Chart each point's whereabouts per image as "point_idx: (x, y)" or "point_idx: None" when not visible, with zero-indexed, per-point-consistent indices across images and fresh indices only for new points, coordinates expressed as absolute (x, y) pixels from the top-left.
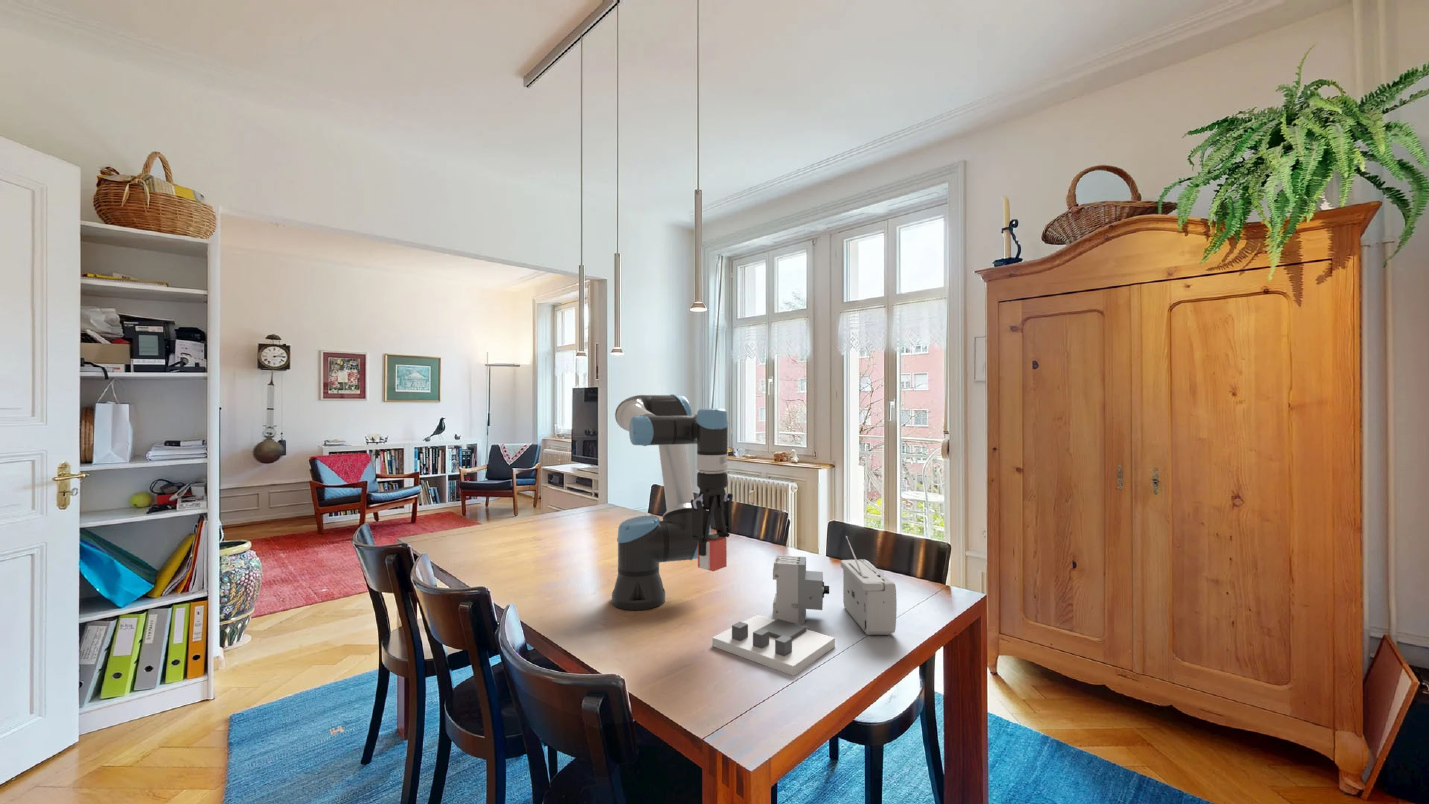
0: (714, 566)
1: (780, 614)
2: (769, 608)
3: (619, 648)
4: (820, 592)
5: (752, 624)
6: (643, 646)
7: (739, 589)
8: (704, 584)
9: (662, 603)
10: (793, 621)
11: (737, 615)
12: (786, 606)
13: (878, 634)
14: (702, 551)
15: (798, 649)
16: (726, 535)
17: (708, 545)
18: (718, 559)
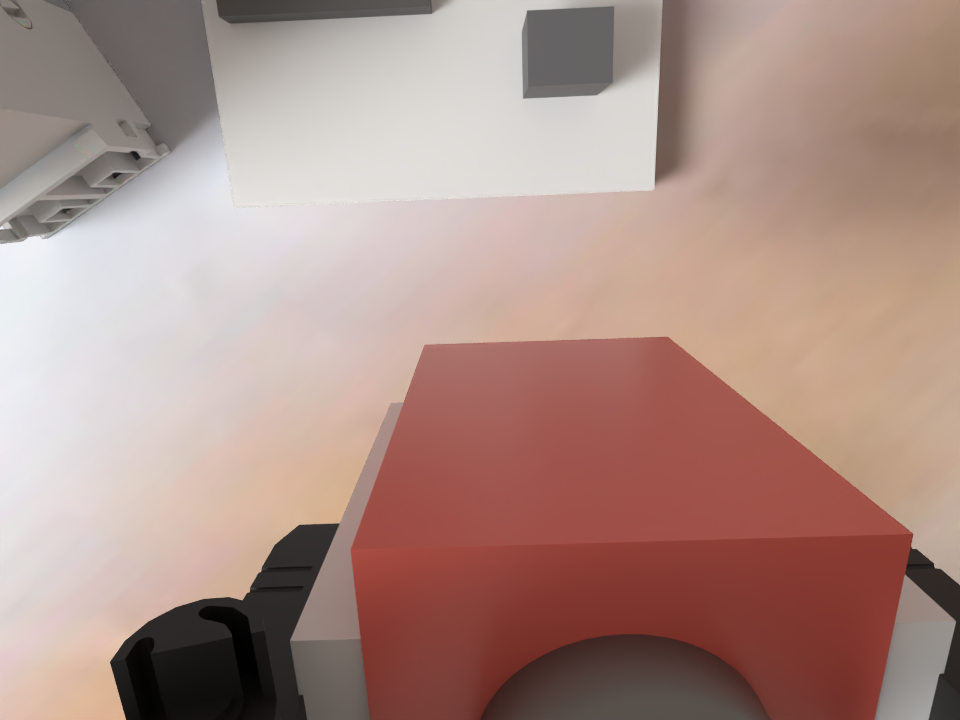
0: (665, 351)
1: (117, 106)
2: (57, 281)
3: (903, 485)
4: None
5: (365, 133)
6: (832, 428)
7: (6, 562)
8: (109, 713)
9: None
10: (87, 37)
11: (264, 348)
12: (54, 59)
13: None
14: (916, 556)
15: None
16: (238, 656)
17: None
18: (595, 379)
